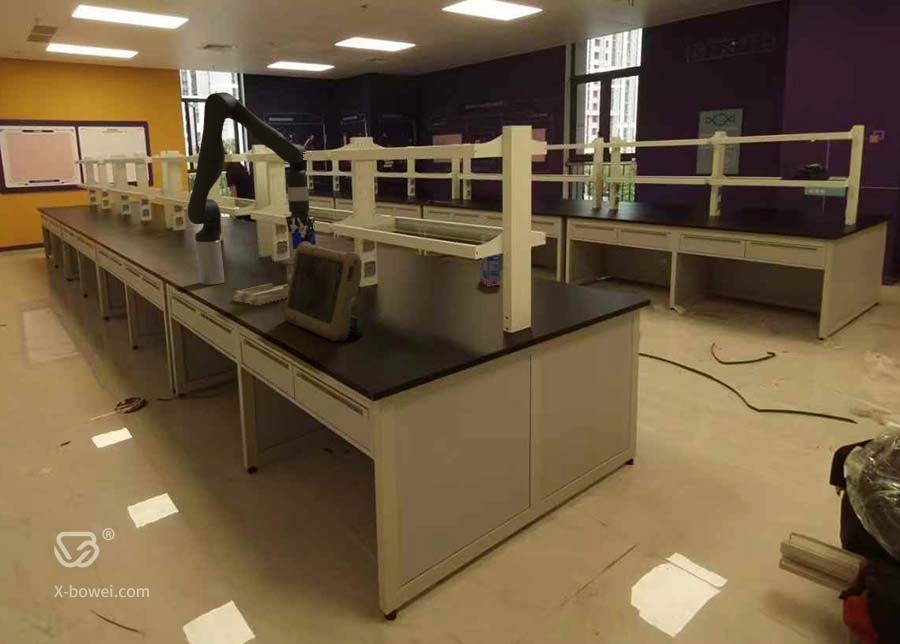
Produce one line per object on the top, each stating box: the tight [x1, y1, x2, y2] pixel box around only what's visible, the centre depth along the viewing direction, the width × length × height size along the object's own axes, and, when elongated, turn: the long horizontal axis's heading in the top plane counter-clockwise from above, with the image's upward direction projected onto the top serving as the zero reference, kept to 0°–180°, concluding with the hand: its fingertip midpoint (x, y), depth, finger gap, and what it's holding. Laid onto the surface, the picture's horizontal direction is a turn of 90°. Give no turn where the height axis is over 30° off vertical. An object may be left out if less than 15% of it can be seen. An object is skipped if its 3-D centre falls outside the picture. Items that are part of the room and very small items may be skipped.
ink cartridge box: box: [478, 254, 501, 285], centre depth 254 cm, size 10×6×14 cm, turn 18°
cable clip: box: [291, 228, 317, 250], centre depth 247 cm, size 12×4×6 cm, turn 163°
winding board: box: [232, 257, 295, 306], centre depth 238 cm, size 14×27×12 cm, turn 144°
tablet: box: [283, 241, 364, 343], centre depth 194 cm, size 33×14×25 cm, turn 45°
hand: (302, 243), depth 247 cm, fingers closed on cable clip, 5 cm apart
